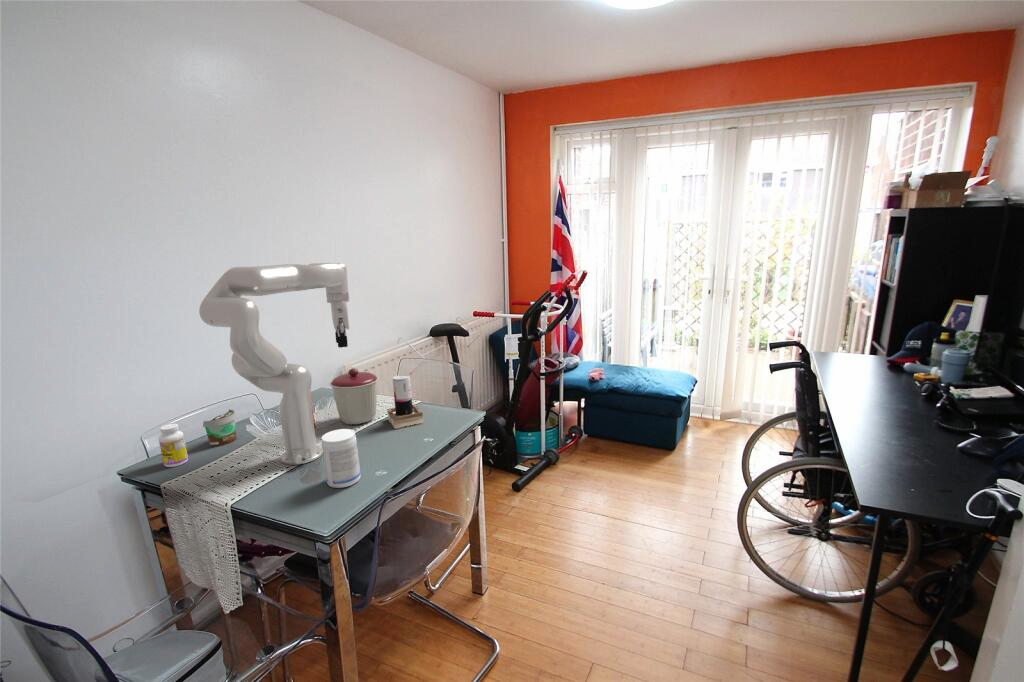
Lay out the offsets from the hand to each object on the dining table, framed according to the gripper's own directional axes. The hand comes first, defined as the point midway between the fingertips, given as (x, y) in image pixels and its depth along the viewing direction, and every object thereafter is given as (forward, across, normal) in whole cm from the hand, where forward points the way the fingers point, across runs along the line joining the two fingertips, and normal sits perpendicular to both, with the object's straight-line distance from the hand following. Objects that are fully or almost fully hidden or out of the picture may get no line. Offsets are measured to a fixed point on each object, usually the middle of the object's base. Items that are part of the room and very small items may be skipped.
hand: (341, 344), depth 172 cm
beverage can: (+29, -3, -21) cm, 36 cm away
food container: (+33, +8, +41) cm, 53 cm away
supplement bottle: (+34, -3, +54) cm, 64 cm away
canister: (+32, +8, -4) cm, 34 cm away
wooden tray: (+32, -2, -21) cm, 38 cm away
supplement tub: (+34, -41, +5) cm, 53 cm away
